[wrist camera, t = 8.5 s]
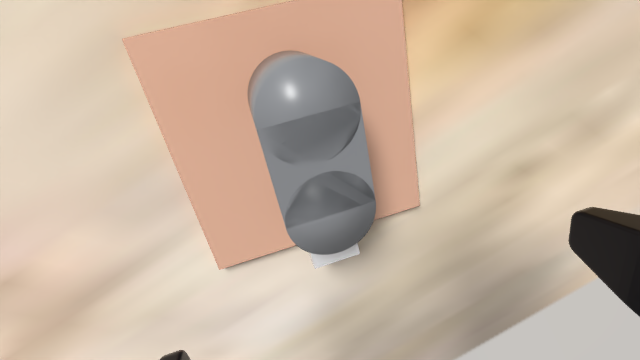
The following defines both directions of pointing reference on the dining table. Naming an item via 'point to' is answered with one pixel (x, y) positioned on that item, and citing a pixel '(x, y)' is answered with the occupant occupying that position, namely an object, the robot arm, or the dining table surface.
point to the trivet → (237, 122)
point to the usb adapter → (314, 152)
